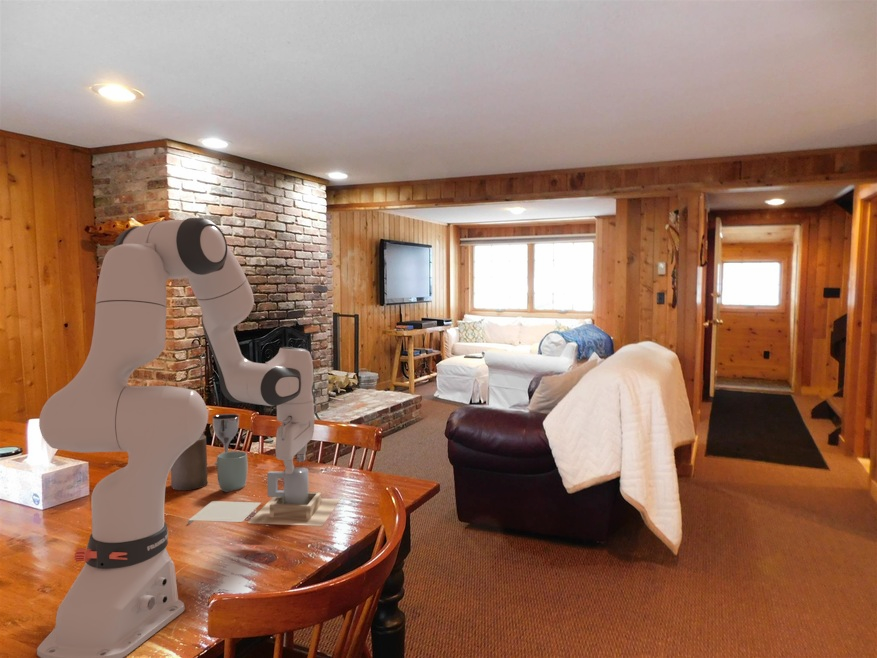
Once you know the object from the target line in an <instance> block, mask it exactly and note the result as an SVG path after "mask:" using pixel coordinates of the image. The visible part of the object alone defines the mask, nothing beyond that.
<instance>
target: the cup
mask: <svg viewBox="0 0 877 658" xmlns="http://www.w3.org/2000/svg"><path fill="white" fill-rule="evenodd" d="M216 461H217V465H216V471H217V472H216V473H217V474H216V475H217V482H218V486H219V488H220V490H221V491H223V492H225V493H230V492H232V491H237V490H241V489H243V488H244V487H245V486H246V484H247V480H248V453H247V452H246V451H239V450H231V451H228V452H225V451H223V452H222V453H219V454H218V455H217V457H216Z"/></svg>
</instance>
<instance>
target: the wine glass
mask: <svg viewBox="0 0 877 658" xmlns="http://www.w3.org/2000/svg"><path fill="white" fill-rule="evenodd" d="M239 424H240V415H239V414H236V413H221V414H216V415H214V416H212V428H213V432H214V434H215V436H216V437H217V438H218V439H219V440H220V441H221V442H222V444H223V447H224V452H229V444H230V443H231V441H232V440H233V439H234V438H235V436H236V435H237V433H238V430H239ZM214 464H215V465H216V464H217V460H216V461H215V462H214Z"/></svg>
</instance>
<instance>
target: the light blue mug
mask: <svg viewBox="0 0 877 658" xmlns="http://www.w3.org/2000/svg"><path fill="white" fill-rule="evenodd" d="M309 472H310V471H309V469H308V468H307V467H302V466H298V467H295V466H294V472H293V473H292V474H286V473H285V469H284V470H283V471H281V470H280V471H279V470H278V471H277V470H276V471H275V470H269V471H268V472H267V474H266V475H267V481H266V482H267V498H273V497H284V504H298V505H308V504H309V492H310V490H309V488H310V487H309V485H310V484H309V483H310V481H309V479H310V478H309V477H310V476H309ZM278 479H283V490H282V489H279V488H278V487H279V486H278V484H279V483H278V482H279V481H278Z"/></svg>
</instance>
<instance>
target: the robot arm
mask: <svg viewBox="0 0 877 658" xmlns="http://www.w3.org/2000/svg"><path fill="white" fill-rule="evenodd" d="M186 278H187V281H188V283H189V285H190V288H191V290H192V293H193V295H194V297H195V298H196V301H197V302H198V305H199V308H200V311H201V317H200V319H201V325H202V329H203V333H204V336H205V339H206V341H207V344H208V346H209V349H210V352H211V354H212V357H213V359H214V362H215V365H216V368H217V371H218V380H219V381H218V382H219V386H220V390H221V392H222V394H223V396H224V397H225V398H226V399H227V401H230V402H232V403H245V404H246V403H248V404H253V405H262V406H268V407H276V420H277V422H281V425H280V426H278V427H277V430H276V435H275V457H276V459H277V460H281V461H283V465H284V468H285V469H284V470H285V473H286V474H292V473H293V472H294V468H295V464H294V461H293V460H294V457H295V456H296V462H298V463H303V462H305V460H306V453H307V447H308V443H309V442H310V441H311V440H312V439H313V436H314V433H315V416H316V415H315V414H316V413H317V411H318V408H317V407H318V406H317V404H316V403H314V395H313V385H314V365H313V363H314V362H313V358H312V355H311V352H310V351H309V350H308V349H306V348H301V347H300V348H299V347H291V346H282V347H280V348H279V350H278V352H277V354H276V355H275V356H274V357H272V358H271V359H270V360H268V361H265V363H262V362H261V363H260V362H254V361H251V360H249V359H247V358H246V357H244V355H243V354H242V350H241V348H240V345H239V343H238V340H237V337H236V334H235V330H234V327H236V326H238V325H239V324H240V323H241V322H243V321H245V319H247V317H248V316H249V315H250V314H251V312H252V311H253V308H254V305H255V299H254V293H253V290H252V287H251V284H250V283H249V281H248V278H247V276H246V274H245V272H244V270H243V268H242V266H241V264H240V262H239V261H238V258H237V257H236V256H235V254H234V253H233V251H232V250H231V248H230V246H229V245H228V243H227V239H226V236H225V234H224V232H223V231H222V229H220V227H219V226H218V225H217V224H216V223H214V222H213V221H212V220H210V219H208V218H203V217H190V218H189V217H188V218H187V219H174V220H171V219H170V220H159V221H154V222H151V223H146V224H144V225H137V226H136V225H135V226H133V227H130V228H128V229H126V230H124V231H123V232H121V233H120V234H119V235H118V236H117V237H116V239H115V241H114V244H113V247H112V248H111V249H109V250H108V251H107V252H106V254H105V255H104V258H103V261H102V264H101V269H100V272H99V275H98V281H97V282H98V283H97V289H96V297H95V309H94V311H95V313H94V325H93V333H92V339H91V345H90V350H89V352H88V355H87V358H86V359H85V362H84V363H83V366H82V367H81V368H80V370H79V371H78V372H77V374H76V375H75V376H74V377H73V379H72V380H70V381H69V383H67V384H66V385H65V386H64V387H62V388H61V389H59V390H58V391H57V392H55V393H54V394H53V395H51V396H50V397H49V398H48V399H47V400H46V402H45V403H44V405H43V406H42V409H41V411H40V414H39V420H38V421H39V422H38V427H39V431H40V434H41V436H42V438H43V440H44V442H46V443H47V445H48V446H49V447H51V448H52V449H55V450H62V451H67V452H73V453H74V452H75V453H82V454H83V453H84V454H85V453H87V454H88V453H89V454H90V453H112V452H124V453H128V461H127V464H126V465H125V466H124V467H121V468H120V469H119V468H118V469H117V470H116V471H113V472H112V473H111V472H110V473H109V474H108V475H106V476H105V477H103V478H102V479H101V480H100V481H98V482H97V483H96V485H95V486H94V489H93V490H92V493H91V497H90V498H91V500H90V501H91V534H90V536H89V538H88V543H87V546H86V548H81V547H80V548H77V549H76V550H75V553H74V556H73V558H74V559H73V560H74V561H75V562H79V563H80V562H84V565H83V567H82V569H81V570H80V572H79V574H78V575H77V576H76V578H75V580H74V582H73V584H71V586H70V588H69V590H68V591H67V593H66V595H65V596H64V598H63V600H62V601H61V603H60V604H59V607H58V608H57V610H56V617H55V618H56V619H55V627H54V628H53V629H52V631H51V632H50V633H49V634H47V636H46V638H44V639H43V641H42V642H41V643H40V644H39V645H38V647H37V648H36V655H37V656H38V657H39V658H125V657H127V655H129V654H130V653H132V652H133V651H134V650H135V649H137V648H138V647H139V646H141V645H142V644H143V643H144V642H146V641H147V640H148V639H149V638H151V637H152V636H154V635H155V634H157V633H158V632H159V631H160V630H161V629H163V628H164V627H166V626H167V625H168V624H169V623H171V622H172V621H173V620H175V619H176V618H177V617H178V616H180V615H181V614H182V613H183V612H184V611H186V607H185V603H184V601H182V600H180V599H179V594H178V588H177V586H178V585H177V576H176V567H175V563H174V561H173V560H172V558H171V556H170V555H169V553H168V550H167V547H168V542H169V540H168V539H169V530H168V524H167V522H166V521H165V499H166V498H165V497H166V486H167V481H168V477H169V476H170V473H171V468H172V466H173V464H174V463H175V461H176V460H177V459H178V457H179V456H180V455H181V454H182V453H183V452H184V451H185V450H186V449H187V448H189V447H190V446H191V445H193V444H194V443H195V442H196V441H197V440H198V439H199V438H200V437H201V435H204V431H205V429H206V427H207V424H208V409H207V405H206V402H205V401H204V399H203V398H202V396H201V395H200V393H199V392H197V391H196V390H194V389H191V388H186V387H181V386H173V385H142V386H141V385H138V386H137V385H131V386H130V385H128V382H129V380H130V377H131V375H132V374H133V372H134V371H136V369H138V368H140V367H143V366H145V365H147V364H149V363H151V362H153V361H155V360H156V359H157V358H158V357H160V355H161V354H162V353H163V351H164V349H165V347H166V333H167V328H166V327H167V304H168V303H167V302H168V301H167V300H168V299H167V297H168V295H167V294H168V293H167V282H168V280H180V279H186Z"/></svg>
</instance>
